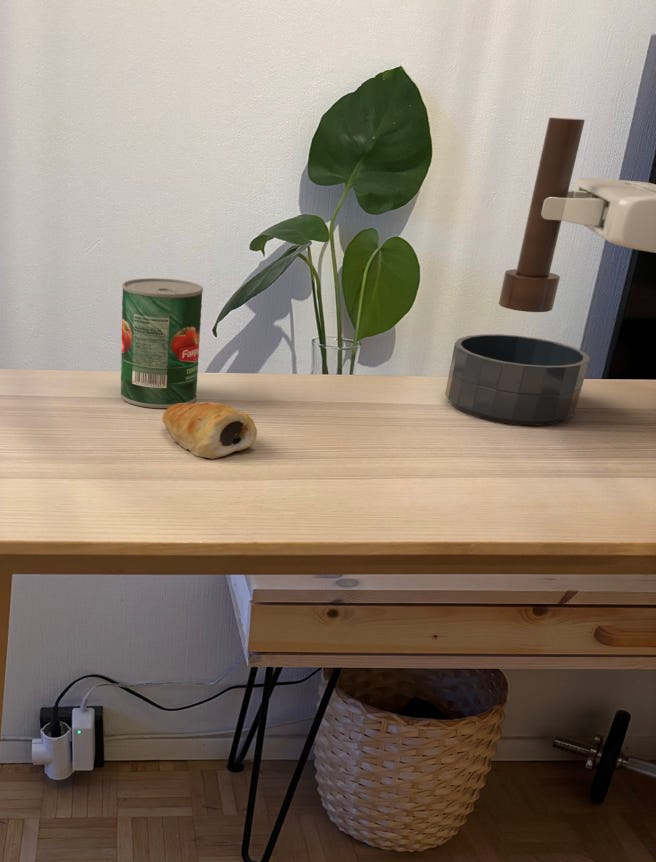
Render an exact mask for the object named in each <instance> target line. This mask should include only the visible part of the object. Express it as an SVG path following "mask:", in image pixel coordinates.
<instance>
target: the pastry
mask: <svg viewBox="0 0 656 862" xmlns="http://www.w3.org/2000/svg"><path fill="white" fill-rule="evenodd" d="M161 418H162V419H161V420H162V423H163V424H164V426H165V428H166V429H167V431H168V433H169V434H170V437H171V438H172V439H173V441H174V443H176V444H178V445H179V446H180V447H181V448H183V449H184V450H188V451H190V453H191V454H193V455H194V456H197V457H201V458H207V459H212V460H214V459H217V458H223V457H226V456H229V455H231V454H232V453H234V452H240V451H243V450H245V449H248V448H250V447H251V446H252V445H253V444H254V443H255V442H256V440H257V437H258V428H257V427H256V424H255V421H254V419H253V418H252V417H250V415H249V414H248V413H247V412H240V411H239V410H237V409H234V408H233V407H232V406H230V405H229V404H223V403H220V402H210V401H204V402H194V403H177V404H175V405H172V406H171V407H169V408H166V409H165V411H164V412H163V414H162V417H161Z"/></svg>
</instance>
